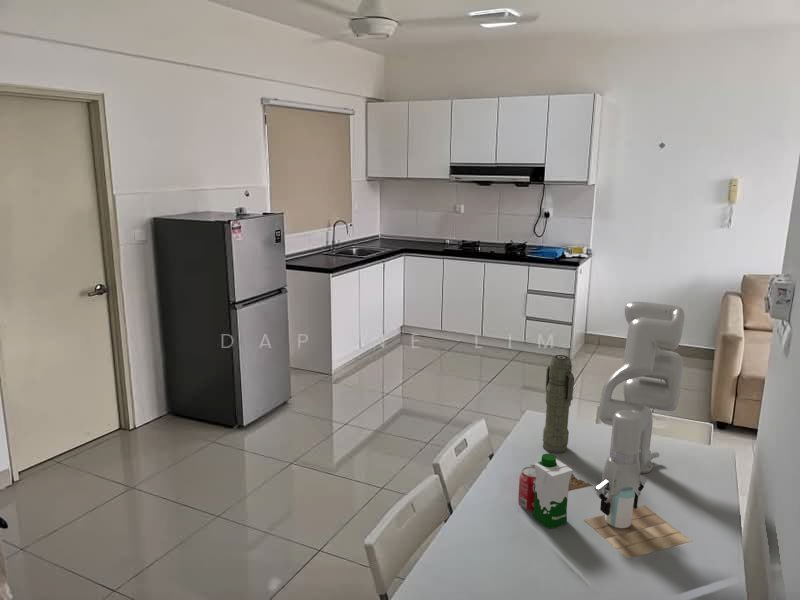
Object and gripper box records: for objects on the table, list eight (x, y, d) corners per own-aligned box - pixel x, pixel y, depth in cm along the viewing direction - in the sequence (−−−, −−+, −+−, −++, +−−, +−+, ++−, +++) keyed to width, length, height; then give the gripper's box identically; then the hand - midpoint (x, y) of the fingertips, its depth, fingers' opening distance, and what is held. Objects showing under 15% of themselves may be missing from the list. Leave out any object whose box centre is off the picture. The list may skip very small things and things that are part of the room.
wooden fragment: (606, 493, 193) (606, 490, 193) (583, 504, 187) (583, 501, 187) (544, 460, 214) (544, 458, 214) (522, 469, 208) (522, 466, 208)
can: (611, 512, 180) (616, 476, 177) (634, 522, 175) (640, 486, 172) (600, 522, 175) (604, 485, 172) (623, 533, 170) (628, 495, 167)
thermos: (560, 457, 215) (567, 364, 207) (534, 445, 224) (540, 355, 216) (575, 450, 221) (583, 359, 212) (549, 438, 230) (556, 350, 222)
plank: (644, 508, 184) (644, 505, 184) (666, 525, 176) (666, 521, 176) (583, 523, 176) (584, 519, 176) (604, 542, 168) (604, 537, 168)
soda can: (543, 504, 186) (546, 468, 184) (538, 516, 180) (541, 479, 177) (521, 498, 189) (523, 463, 187) (515, 510, 183) (517, 474, 180)
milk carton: (550, 511, 183) (555, 450, 178) (572, 527, 175) (577, 463, 170) (527, 518, 179) (531, 456, 174) (548, 535, 171) (553, 470, 166)
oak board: (667, 526, 176) (667, 522, 175) (691, 544, 167) (692, 540, 167) (605, 542, 168) (605, 538, 168) (627, 562, 160) (628, 558, 159)
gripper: (639, 444, 176) (633, 497, 180) (589, 453, 170) (585, 508, 174) (658, 455, 169) (652, 510, 173) (607, 466, 163) (602, 522, 167)
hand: (618, 509), depth 174 cm, fingers open, 9 cm apart
